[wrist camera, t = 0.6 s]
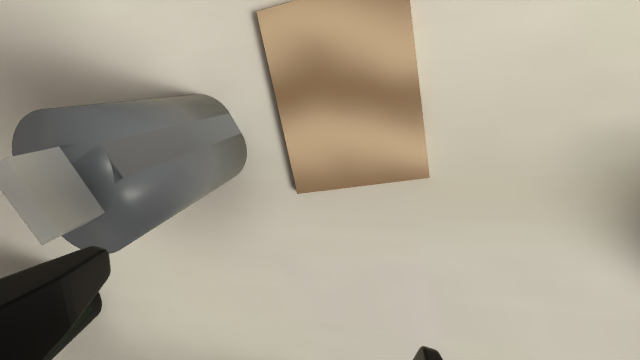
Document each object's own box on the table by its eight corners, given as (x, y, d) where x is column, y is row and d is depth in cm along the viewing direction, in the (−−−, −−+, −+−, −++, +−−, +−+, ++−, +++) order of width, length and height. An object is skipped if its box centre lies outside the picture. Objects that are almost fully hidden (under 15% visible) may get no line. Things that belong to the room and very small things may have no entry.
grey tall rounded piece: (259, 163, 24) (121, 254, 12) (208, 191, 26) (41, 295, 13) (210, 81, 23) (3, 86, 11) (160, 115, 24) (-69, 154, 12)
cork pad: (428, 174, 22) (429, 177, 21) (299, 191, 24) (297, 193, 23) (405, -28, 18) (406, -31, 18) (259, 13, 21) (256, 11, 20)
